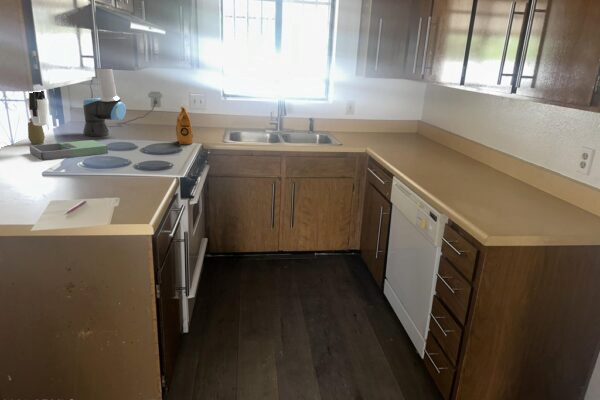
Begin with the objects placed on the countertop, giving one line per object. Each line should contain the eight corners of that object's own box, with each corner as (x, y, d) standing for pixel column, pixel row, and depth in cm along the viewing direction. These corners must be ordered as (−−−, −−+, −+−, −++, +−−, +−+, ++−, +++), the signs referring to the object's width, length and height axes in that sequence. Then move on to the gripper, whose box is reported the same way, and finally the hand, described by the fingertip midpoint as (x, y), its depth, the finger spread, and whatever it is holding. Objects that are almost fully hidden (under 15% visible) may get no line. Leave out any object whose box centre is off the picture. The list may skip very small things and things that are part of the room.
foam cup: (42, 126, 215) (39, 100, 211) (25, 125, 216) (21, 98, 212) (55, 124, 224) (52, 98, 220) (38, 122, 225) (35, 97, 221)
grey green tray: (93, 146, 244) (93, 139, 242) (108, 153, 231) (107, 145, 230) (30, 153, 221) (29, 145, 220) (42, 160, 209) (41, 152, 208)
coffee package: (176, 144, 262) (175, 108, 255) (176, 140, 273) (175, 105, 266) (193, 144, 264) (192, 108, 258) (192, 140, 276) (191, 106, 269)
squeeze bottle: (48, 142, 247) (44, 111, 241) (39, 145, 239) (34, 113, 234) (35, 141, 248) (31, 110, 242) (25, 144, 240) (20, 112, 234)
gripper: (34, 75, 222) (39, 118, 229) (17, 76, 202) (23, 124, 209) (50, 75, 224) (55, 118, 231) (34, 77, 203) (40, 124, 210)
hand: (40, 121), depth 220 cm, fingers closed on foam cup, 9 cm apart
